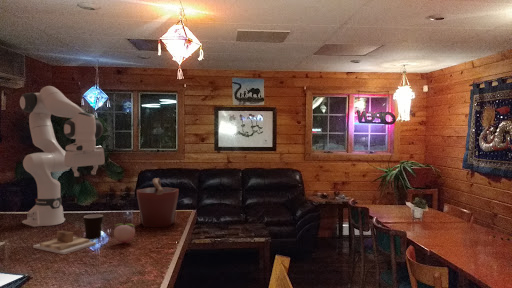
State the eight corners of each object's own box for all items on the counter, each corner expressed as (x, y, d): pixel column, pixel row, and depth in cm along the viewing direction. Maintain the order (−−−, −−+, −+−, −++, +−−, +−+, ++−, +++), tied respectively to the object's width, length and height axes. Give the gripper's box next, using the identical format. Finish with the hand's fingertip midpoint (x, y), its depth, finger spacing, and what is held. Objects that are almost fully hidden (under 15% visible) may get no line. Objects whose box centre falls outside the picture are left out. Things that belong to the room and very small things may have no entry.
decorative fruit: (112, 247, 170) (112, 224, 170) (114, 242, 178) (114, 220, 178) (135, 245, 173) (135, 223, 172) (135, 240, 181) (135, 219, 180)
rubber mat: (33, 247, 169) (33, 245, 169) (65, 238, 183) (65, 236, 183) (63, 254, 159) (63, 252, 159) (96, 244, 174) (96, 242, 174)
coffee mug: (96, 239, 181) (96, 218, 181) (79, 238, 183) (79, 217, 183) (110, 233, 193) (110, 213, 193) (94, 232, 195) (94, 212, 194)
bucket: (170, 229, 202) (170, 181, 201) (128, 228, 203) (128, 180, 202) (181, 219, 227) (181, 176, 226) (143, 218, 227) (143, 175, 227)
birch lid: (39, 245, 168) (39, 233, 168) (68, 238, 181) (68, 226, 180) (61, 250, 162) (61, 237, 162) (89, 242, 174) (89, 230, 174)
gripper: (99, 145, 197) (98, 172, 198) (62, 146, 179) (62, 176, 180) (107, 146, 194) (107, 173, 195) (71, 147, 176) (71, 177, 177)
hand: (85, 175), depth 187 cm, fingers open, 8 cm apart
